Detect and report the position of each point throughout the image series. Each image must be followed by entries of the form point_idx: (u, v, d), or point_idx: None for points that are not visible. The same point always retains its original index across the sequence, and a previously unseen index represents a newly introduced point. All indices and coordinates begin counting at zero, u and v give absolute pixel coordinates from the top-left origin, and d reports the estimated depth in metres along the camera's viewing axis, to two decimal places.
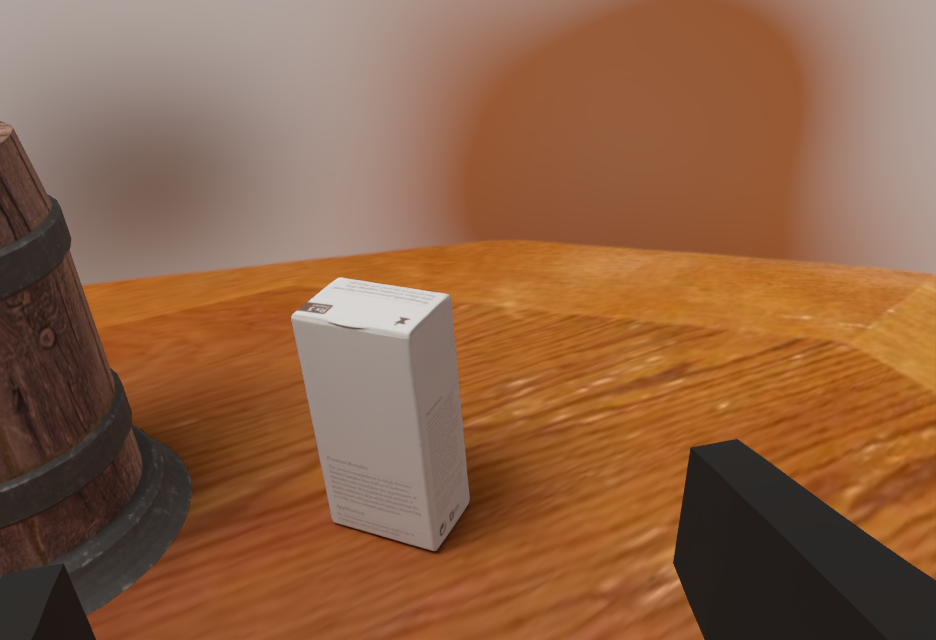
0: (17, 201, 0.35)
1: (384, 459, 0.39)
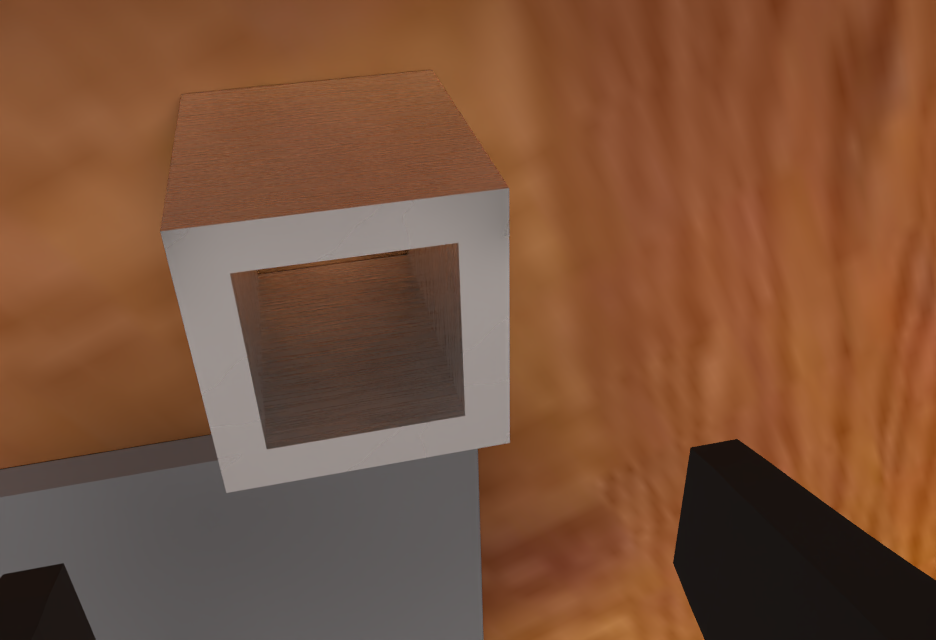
0: None
1: None
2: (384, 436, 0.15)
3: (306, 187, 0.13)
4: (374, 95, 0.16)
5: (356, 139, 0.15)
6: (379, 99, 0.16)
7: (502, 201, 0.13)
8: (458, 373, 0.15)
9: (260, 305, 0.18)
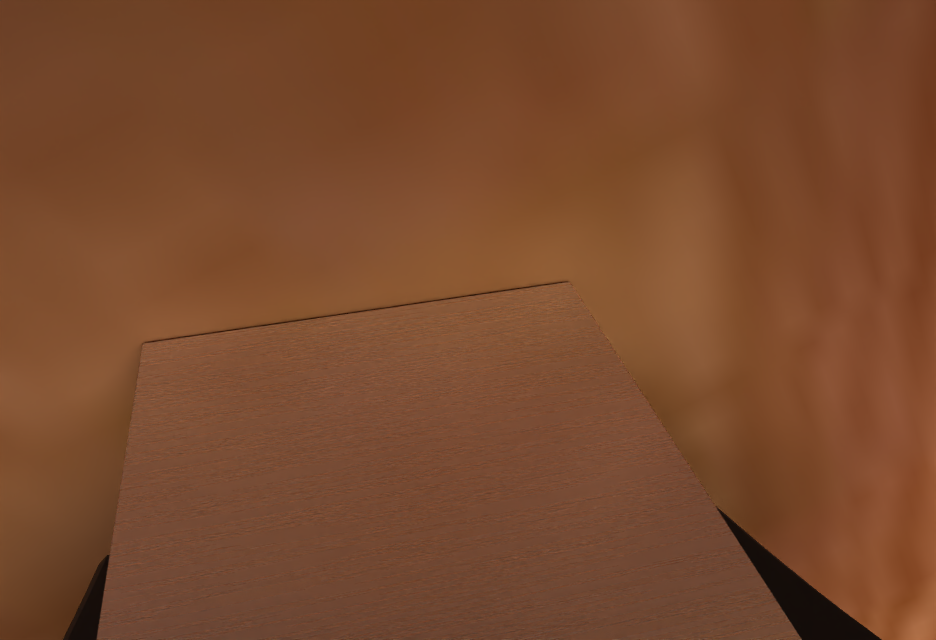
0: None
1: None
2: None
3: None
4: (485, 355, 0.09)
5: (477, 510, 0.07)
6: (496, 368, 0.09)
7: None
8: None
9: None
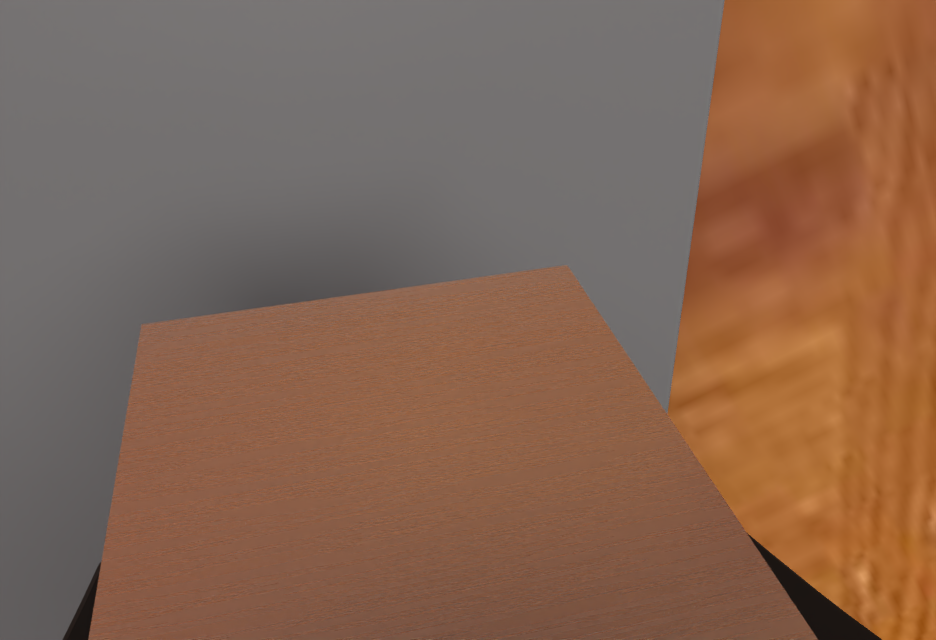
0: None
1: None
2: None
3: None
4: (482, 335, 0.09)
5: (473, 484, 0.07)
6: (494, 348, 0.09)
7: None
8: None
9: None
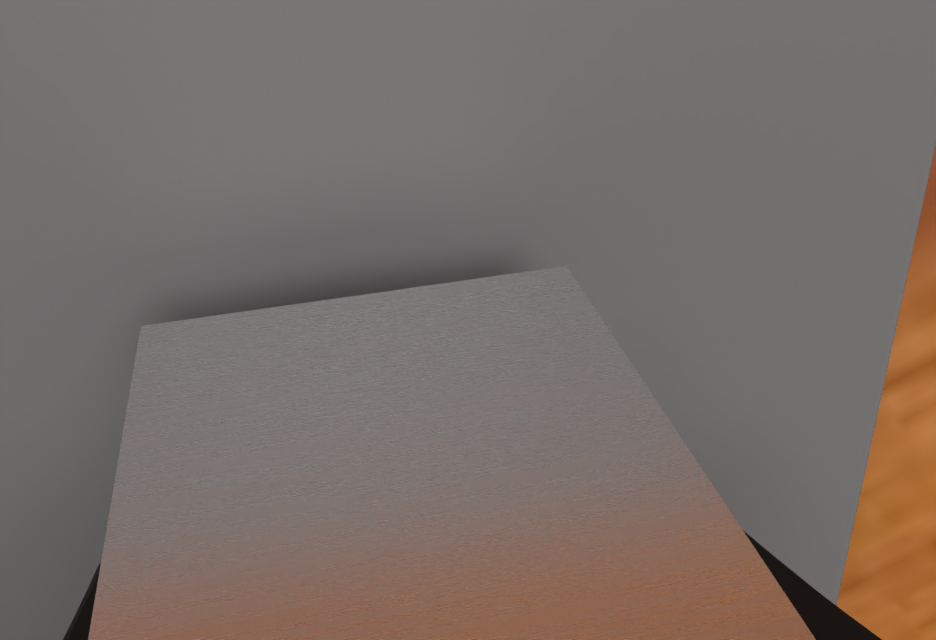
0: None
1: None
2: None
3: None
4: (481, 336, 0.09)
5: (471, 485, 0.07)
6: (493, 349, 0.09)
7: None
8: None
9: None
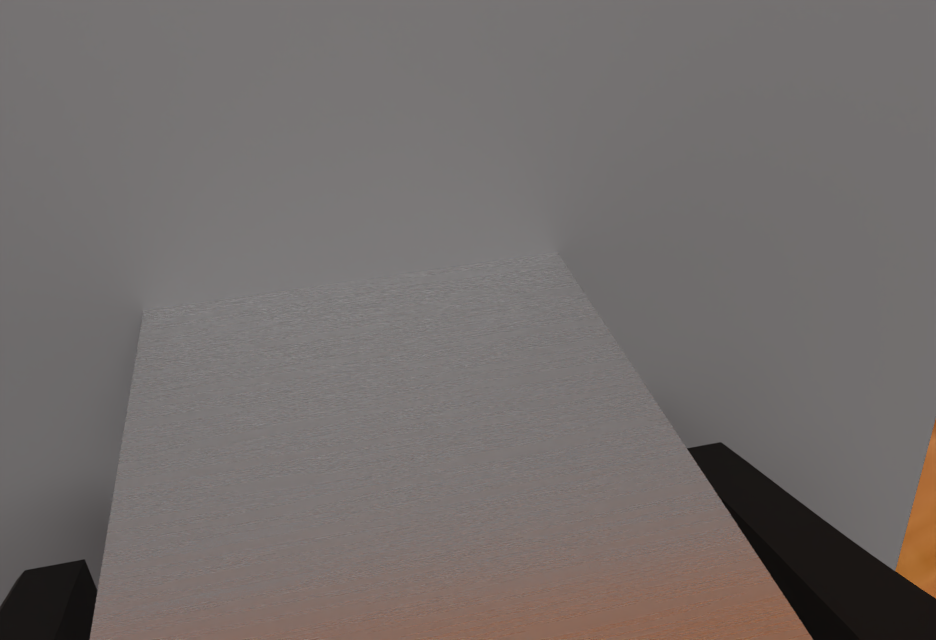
0: None
1: None
2: None
3: None
4: (474, 320, 0.10)
5: (463, 460, 0.08)
6: (485, 332, 0.09)
7: None
8: None
9: None
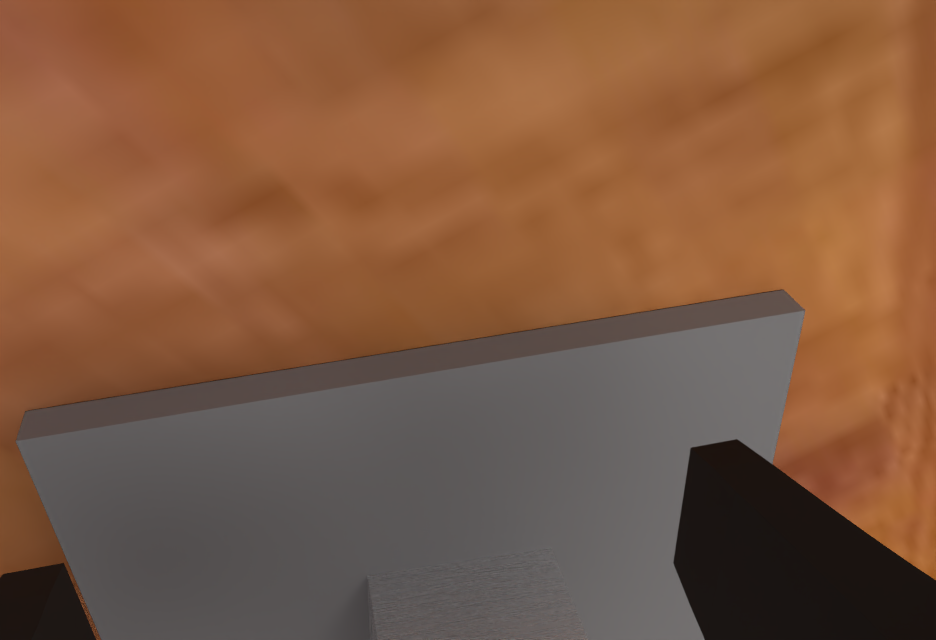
0: None
1: None
2: None
3: None
4: (514, 591, 0.22)
5: None
6: (519, 599, 0.22)
7: None
8: None
9: None
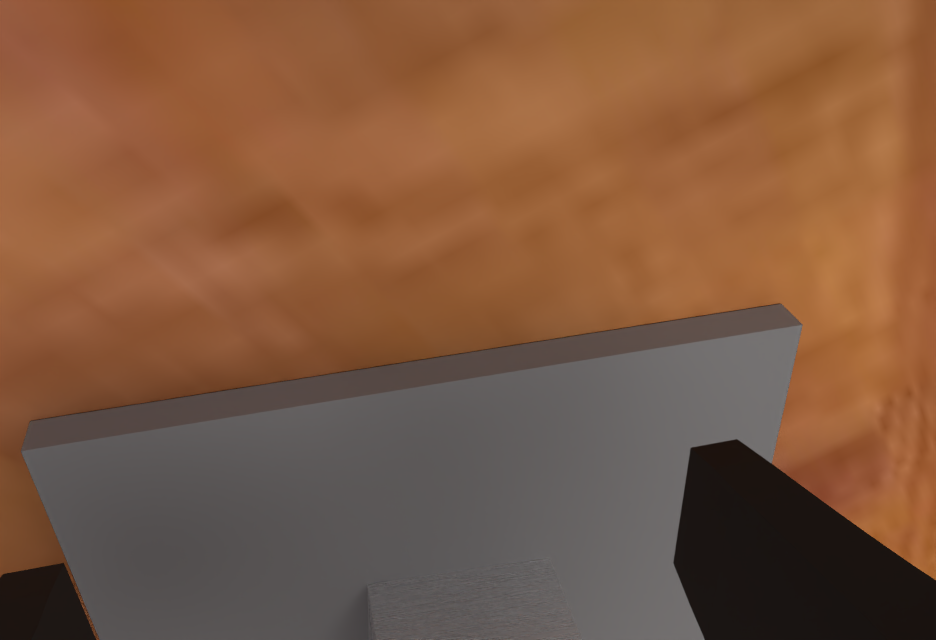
0: None
1: None
2: None
3: None
4: (513, 600, 0.22)
5: None
6: (518, 608, 0.22)
7: None
8: None
9: None
